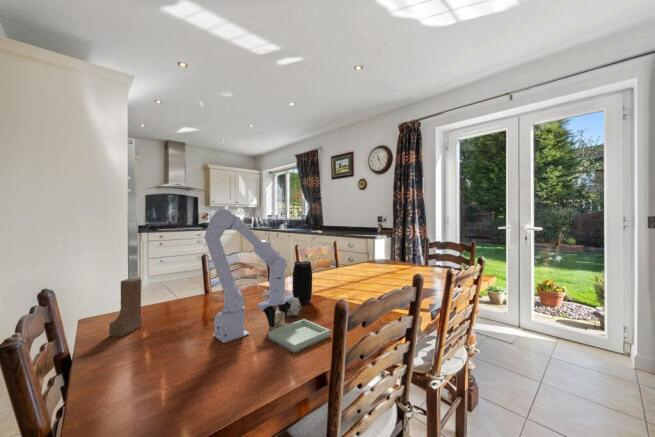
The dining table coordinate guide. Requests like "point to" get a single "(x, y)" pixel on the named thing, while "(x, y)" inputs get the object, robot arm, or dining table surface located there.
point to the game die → (294, 307)
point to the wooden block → (128, 309)
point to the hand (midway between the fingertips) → (276, 324)
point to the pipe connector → (265, 294)
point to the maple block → (278, 319)
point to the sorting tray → (299, 335)
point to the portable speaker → (302, 281)
